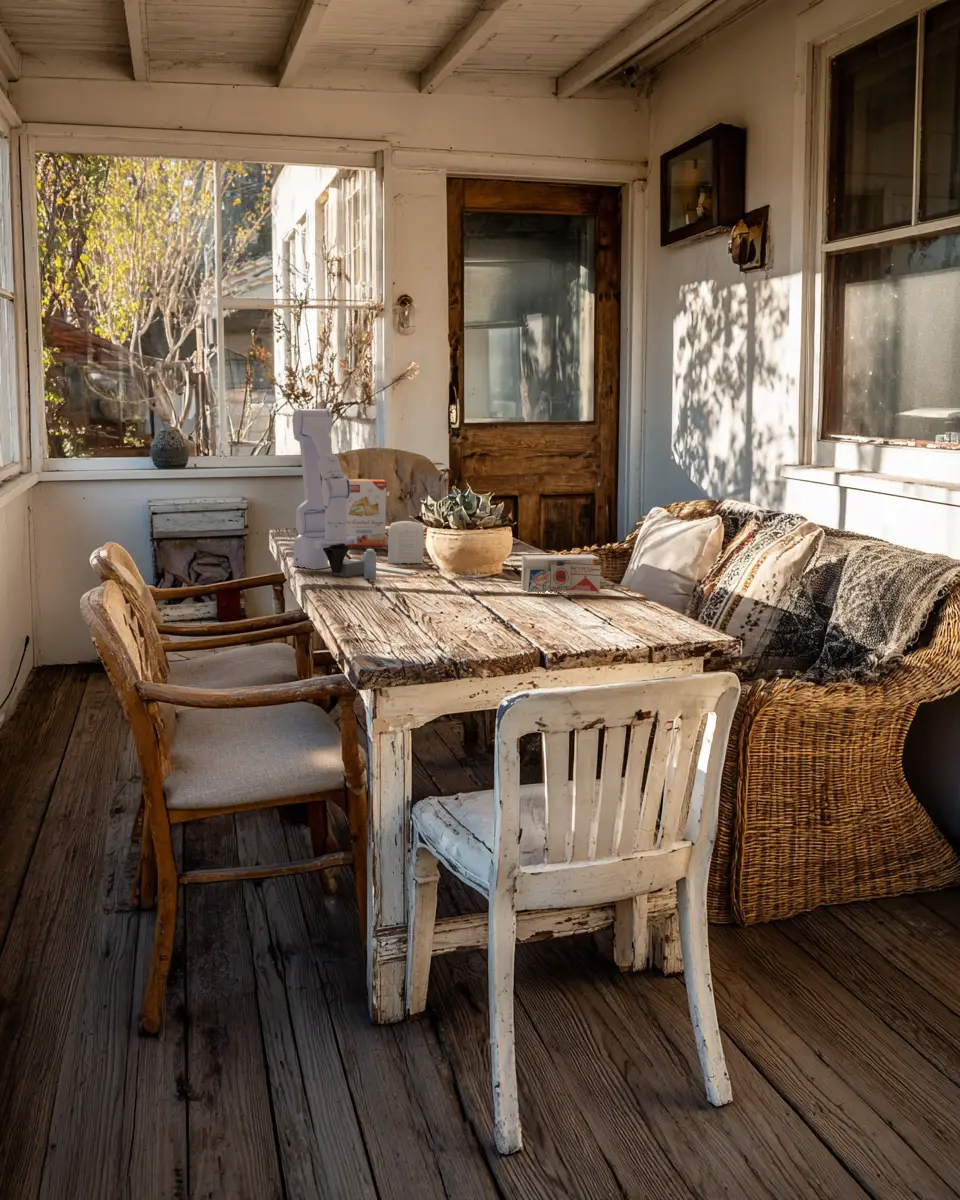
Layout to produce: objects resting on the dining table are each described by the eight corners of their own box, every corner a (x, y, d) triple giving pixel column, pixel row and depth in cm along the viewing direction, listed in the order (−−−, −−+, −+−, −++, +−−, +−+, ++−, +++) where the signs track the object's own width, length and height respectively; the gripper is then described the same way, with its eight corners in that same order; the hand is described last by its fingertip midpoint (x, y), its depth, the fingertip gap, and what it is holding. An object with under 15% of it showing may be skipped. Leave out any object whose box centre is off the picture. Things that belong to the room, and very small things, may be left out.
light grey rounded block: (422, 562, 344) (423, 520, 342) (424, 564, 340) (424, 522, 338) (387, 562, 343) (387, 520, 340) (388, 564, 339) (388, 521, 336)
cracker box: (342, 546, 372) (342, 480, 368) (340, 543, 378) (340, 478, 374) (386, 546, 375) (386, 480, 371) (383, 543, 380) (384, 478, 377)
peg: (361, 578, 315) (361, 549, 313) (369, 576, 317) (369, 548, 316) (370, 579, 313) (370, 550, 312) (378, 578, 316) (378, 549, 314)
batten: (365, 568, 331) (365, 566, 331) (375, 566, 334) (375, 564, 334) (409, 575, 321) (409, 573, 321) (418, 573, 324) (418, 571, 324)
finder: (332, 574, 319) (332, 561, 319) (352, 571, 326) (353, 558, 325) (346, 576, 316) (346, 563, 316) (366, 573, 323) (366, 560, 322)
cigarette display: (527, 595, 296) (528, 558, 294) (521, 591, 302) (522, 555, 300) (602, 593, 301) (603, 557, 299) (594, 589, 306) (596, 554, 305)
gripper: (327, 526, 306) (327, 577, 309) (365, 521, 317) (365, 571, 320) (308, 523, 310) (308, 574, 313) (346, 519, 322) (346, 568, 324)
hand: (335, 572), depth 317 cm, fingers closed
